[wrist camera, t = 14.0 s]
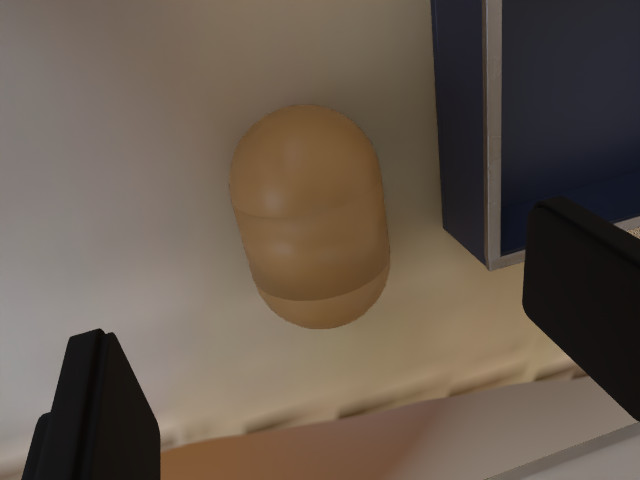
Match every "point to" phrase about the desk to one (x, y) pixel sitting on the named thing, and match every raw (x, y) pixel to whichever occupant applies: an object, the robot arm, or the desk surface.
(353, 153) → the potato
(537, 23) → the square open-top storage box
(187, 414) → the desk surface
